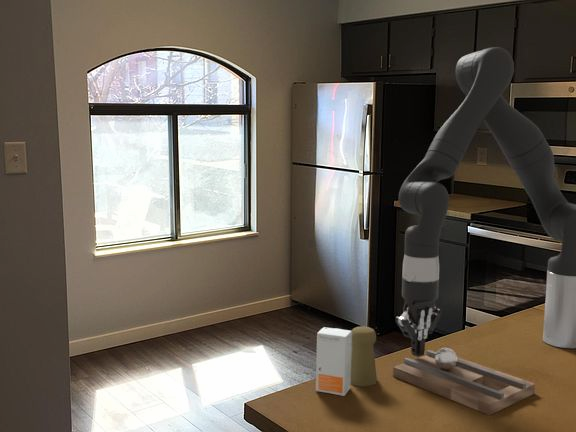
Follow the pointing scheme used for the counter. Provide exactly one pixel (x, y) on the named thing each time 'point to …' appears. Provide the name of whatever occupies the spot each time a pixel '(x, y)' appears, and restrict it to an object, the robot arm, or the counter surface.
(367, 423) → the counter surface
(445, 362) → the steel ball
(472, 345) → the counter surface
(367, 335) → the olive knob stopper
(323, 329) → the skincare box
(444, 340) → the counter surface
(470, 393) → the walnut channel
